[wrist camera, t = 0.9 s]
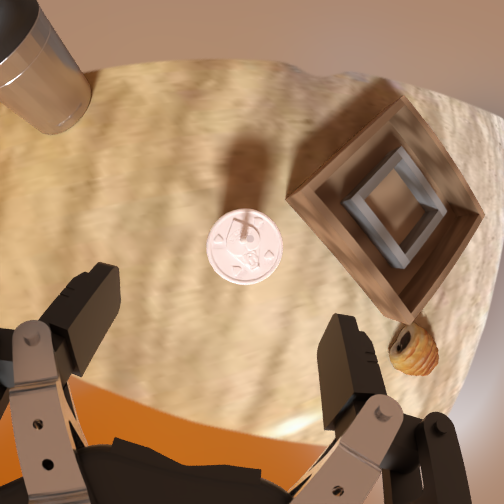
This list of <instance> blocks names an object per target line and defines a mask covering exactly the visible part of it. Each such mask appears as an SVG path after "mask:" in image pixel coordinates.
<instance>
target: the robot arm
mask: <svg viewBox="0 0 504 504" xmlns="http://www.w3.org/2000/svg"><path fill="white" fill-rule="evenodd" d="M90 98H91V88H90V84H89V82H88V81H87V79H86V78H85V76H84V75H83V73H82V72H81V70H80V69H79V67H78V65H77V64H76V62H75V61H74V59H73V58H72V56H71V55H70V53H69V52H68V50H67V48H66V47H65V45H64V44H63V42H62V41H61V39H60V38H59V36H58V34H57V33H56V31H55V30H54V28H53V27H52V25H51V23H50V22H49V20H48V19H47V17H46V16H45V14H44V12H43V11H42V9H41V7H40V6H39V4H38V2H37V0H0V102H2V103H3V104H4V105H6V106H7V107H8V108H10V109H11V110H12V111H14V112H15V113H16V114H18V115H19V116H20V117H22V118H23V119H24V120H26V121H27V122H28V123H30V124H31V125H32V126H34V127H35V128H36V129H38V130H39V131H41V132H42V133H45V134H58V133H61V132H63V131H65V130H67V129H69V128H70V127H72V126H73V125H74V124H75V123H76V122H77V121H78V120H79V119H80V118H81V117H82V115H83V114H84V113H85V111H86V109H87V107H88V105H89V102H90ZM120 303H121V295H120V277H119V268H118V267H117V266H114V265H110V264H106V263H102V262H98V263H97V264H96V265H95V266H94V267H93V269H92V270H91V271H90V272H89V273H87V272H83V273H81V274H80V275H78V276H76V277H74V278H73V279H72V280H71V281H70V282H69V284H68V285H67V286H66V288H64V289H63V291H62V292H61V293H60V295H58V297H57V298H56V299H55V300H54V301H53V303H52V304H51V305H50V306H49V307H48V309H47V310H46V311H45V312H44V314H43V315H42V316H41V317H40V319H39V320H30V321H26V322H24V323H22V324H20V325H19V326H18V327H17V328H16V329H15V330H12V329H3V328H0V419H1V417H2V415H3V413H4V411H5V409H6V407H7V405H8V403H9V401H10V409H11V417H12V424H13V430H14V436H15V442H16V447H17V452H18V457H19V461H20V466H21V470H22V474H23V477H21V478H19V479H16V480H14V481H12V482H10V483H8V484H5V485H3V486H0V504H363V502H364V501H365V499H366V498H367V496H368V494H369V493H370V491H371V490H372V488H373V486H374V484H375V483H376V481H377V480H378V478H379V476H380V474H381V472H382V478H383V490H384V504H472V502H471V496H470V491H469V486H468V481H467V476H466V471H465V466H464V462H463V458H462V454H461V450H460V446H459V442H458V439H457V434H456V431H455V427H454V425H453V423H452V421H451V420H450V419H449V418H448V417H447V416H446V415H444V414H443V413H440V412H432V413H430V414H428V415H427V416H426V417H425V418H424V419H420V418H416V417H413V416H410V415H406V414H404V413H403V411H402V408H401V406H400V405H399V404H398V402H397V401H396V400H394V399H393V398H391V397H389V396H387V393H386V389H385V385H384V382H383V378H382V374H381V371H380V367H379V364H378V360H377V357H376V355H375V350H374V347H373V344H372V341H371V340H370V339H369V337H368V336H367V335H366V333H365V332H363V331H359V329H358V326H357V322H356V319H355V317H354V316H348V315H342V314H336V313H335V314H334V315H333V316H332V318H331V320H330V322H329V324H328V326H327V328H326V330H325V332H324V334H323V336H322V339H321V341H320V343H319V346H318V350H317V362H318V371H319V381H320V390H321V401H322V411H323V423H324V430H333V431H335V438H334V439H333V440H332V442H331V443H330V444H329V445H328V447H327V448H326V449H325V451H324V452H323V453H322V454H321V455H320V457H319V458H318V459H317V460H316V461H315V463H314V464H313V465H312V466H311V468H310V469H309V470H308V471H307V472H306V473H305V474H304V475H303V477H302V478H301V479H300V480H299V481H298V482H297V483H296V484H295V485H294V486H293V487H292V488H291V489H290V490H289V491H288V492H287V491H285V490H284V489H283V488H281V487H280V486H278V485H276V484H274V483H272V482H270V481H268V480H266V479H263V478H261V469H252V468H243V467H237V466H230V465H207V466H186V465H182V464H180V463H178V462H175V461H173V460H172V459H170V458H168V457H166V456H164V455H162V454H160V453H158V452H156V451H154V450H152V449H150V448H148V447H144V446H141V445H138V444H135V443H131V442H128V441H125V440H122V439H119V438H116V437H115V438H114V441H113V444H112V445H108V444H106V445H103V444H102V445H101V444H100V445H92V446H88V444H87V442H86V439H85V437H84V435H83V432H82V430H81V427H80V424H79V421H78V417H77V414H76V410H75V406H74V403H73V399H72V395H71V391H70V387H69V383H68V379H69V377H70V375H71V373H72V374H75V375H77V376H80V377H82V376H83V374H84V372H85V370H86V368H87V366H88V365H89V363H90V361H91V359H92V357H93V356H94V354H95V352H96V350H97V348H98V347H99V345H100V343H101V341H102V340H103V338H104V336H105V334H106V333H107V331H108V329H109V328H110V326H111V324H112V322H113V321H114V319H115V317H116V316H117V314H118V311H119V308H120ZM420 466H421V471H422V478H423V485H424V488H423V487H422V480H421V474H420ZM381 468H382V469H381Z"/></svg>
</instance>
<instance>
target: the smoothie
mask: <svg viewBox="0 0 504 504" xmlns="http://www.w3.org/2000/svg"><path fill="white" fill-rule="evenodd" d="M206 244H207V255H208V259H209V262H210V264H211V265H212V267H213V269H214V270H215V272H217V273H218V274H219V275H220V276H221V277H222V278H224V279H226V280H227V281H229V282H231V283H235V284H241V285H250V284H255V283H258V282H260V281H262V280H264V279H266V278H267V277H269V276H270V275H271V274H272V273H273V272H274V271H275V269H276V268H277V266H278V264H279V262H280V260H281V257H282V252H283V241H282V236H281V233H280V231H279V229H278V227H277V225H276V224H275V223H274V221H273V220H272V219H271V218H269V217H268V216H267V215H266V214H264V213H262V212H260V211H257V210H254V209H247V208H243V209H236V210H233V211H230V212H228V213H226V214H225V215H223V216H221V217H220V218H219V219H218V220H217V221H216V222H215V223H214V224H213V226H212V228H211V230H210V232H209V234H208V239H207V243H206Z"/></svg>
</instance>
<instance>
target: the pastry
mask: <svg viewBox="0 0 504 504" xmlns="http://www.w3.org/2000/svg"><path fill="white" fill-rule="evenodd" d="M389 357H390V361H391V362H392V364H393V366H394V368H395V369H397V370H400V371H401V372H403V373H405V374H409V375H415V376H418V375H421V376H425V375H428V374H430V373H431V371H432V370H433V369H434V367H435V366H436V365H437V364H438V359H439V355H438V348H437V347H436V343H435V342H434V341H433V338H432V336H431V335H430V334H428V333H427V331H426V330H425V329H423V328H421V327H419V326H418V325H416V323H415V322H412V323H411V324H410V325H406V326H405V327H404V328H403V329H402V331H401V332H400V334H399V336H398V338H397V341H396V343H394V345H393V346H392V348H391V349H390V353H389Z"/></svg>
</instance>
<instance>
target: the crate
mask: <svg viewBox="0 0 504 504" xmlns="http://www.w3.org/2000/svg"><path fill="white" fill-rule="evenodd" d="M286 201H287V202H288V203H289V204H290V206H291V207H292V208H293V209H294V210H295V211H296V212H297V213H298V214H299V216H300V217H301V218H302V219H303V220H304V221H305V222H306V223H307V225H308V226H309V227H310V228H311V229H312V230H313V231H314V233H315V234H316V235H317V236H318V237H319V238H320V239H321V241H322V242H323V243H324V244H325V245H326V246H327V248H328V249H329V250H330V251H331V252H332V253H333V255H334V256H335V257H336V258H337V259H338V260H339V262H340V263H341V264H342V265H343V266H344V268H345V269H346V270H347V271H348V272H349V274H350V275H351V276H352V277H353V278H354V280H355V281H356V282H357V283H358V284H359V286H360V287H361V288H362V289H363V291H364V292H365V293H366V294H367V296H368V297H369V298H370V299H371V301H372V302H373V303H374V304H375V306H376V307H377V308H378V309H379V311H380V312H381V313H382V314H383V316H385V317H388V318H391V319H393V320H396V321H399V322H401V323H404V324H407V325H410V324H411V323H412V322H413V321H414V320H415V318H416V317H417V316H418V314H419V313H420V312H421V311H422V309H423V308H424V307H425V305H426V304H427V303H428V301H429V300H430V299H431V297H432V296H433V295H434V293H435V292H436V291H437V289H438V288H439V287H440V285H441V284H442V282H443V281H444V279H445V278H446V277H447V275H448V274H449V272H450V271H451V269H452V268H453V266H454V265H455V263H456V262H457V260H458V259H459V257H460V256H461V254H462V253H463V251H464V249H465V248H466V246H467V245H468V243H469V241H470V240H471V238H472V236H473V235H474V233H475V231H476V230H477V228H478V226H479V225H480V223H481V221H482V219H483V218H484V216H485V214H484V212H483V210H482V208H481V206H480V205H479V203H478V201H477V199H476V197H475V196H474V194H473V192H472V190H471V189H470V187H469V185H468V184H467V182H466V180H465V179H464V177H463V175H462V174H461V172H460V171H459V169H458V167H457V166H456V164H455V163H454V161H453V160H452V158H451V157H450V155H449V154H448V152H447V151H446V149H445V148H444V146H443V145H442V144H441V142H440V141H439V139H438V138H437V136H436V135H435V134H434V132H433V131H432V130H431V128H430V127H429V126H428V124H427V123H426V122H425V120H424V119H423V118H422V117H421V115H420V114H419V113H418V111H417V110H416V109H415V108H414V107H413V105H412V104H411V103H410V102H409V100H408V99H407V98H406V97H405V96H404V95H403V96H402V97H401V98H399V99H398V100H397V101H395V102H394V103H392V104H391V105H390V106H388V107H387V108H386V109H384V110H383V111H381V112H380V113H379V114H378V115H377V116H376V117H375V118H374V119H373V120H372V121H370V122H369V123H368V124H367V125H366V126H365V127H364V128H363V129H362V130H360V131H359V132H358V133H357V134H356V135H355V136H354V137H353V138H352V139H351V140H350V141H348V142H347V143H346V144H345V145H344V146H343V147H342V148H341V149H340V150H339V151H337V152H336V153H335V154H334V155H333V156H332V157H331V158H330V159H329V160H328V161H327V162H326V163H324V164H323V165H322V166H321V167H320V168H319V169H318V170H317V171H316V172H315V173H314V174H313V175H311V176H310V177H309V178H308V179H307V180H306V181H305V182H304V183H303V184H302V185H301V186H300V187H298V188H297V189H296V190H295V191H294V192H293V193H292V194H291V195H290V196H289V197H288V198H287V199H286Z"/></svg>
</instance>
